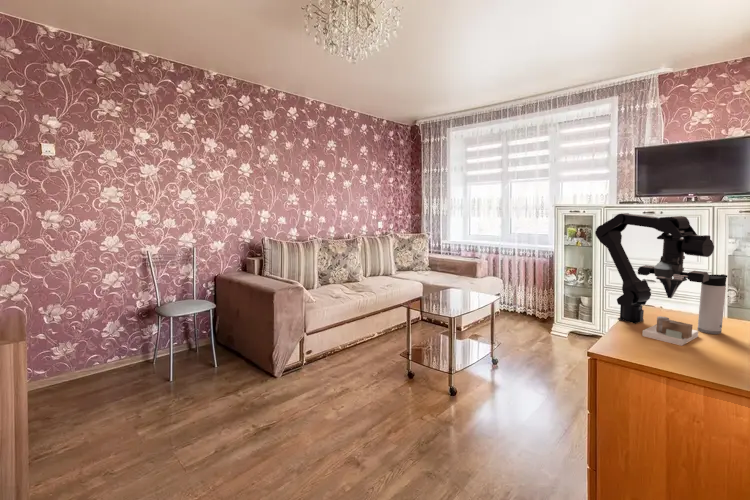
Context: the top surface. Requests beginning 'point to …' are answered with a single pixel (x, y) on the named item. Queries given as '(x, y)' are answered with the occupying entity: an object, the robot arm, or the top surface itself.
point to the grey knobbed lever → (674, 326)
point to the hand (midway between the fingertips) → (669, 297)
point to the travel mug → (712, 304)
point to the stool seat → (668, 335)
